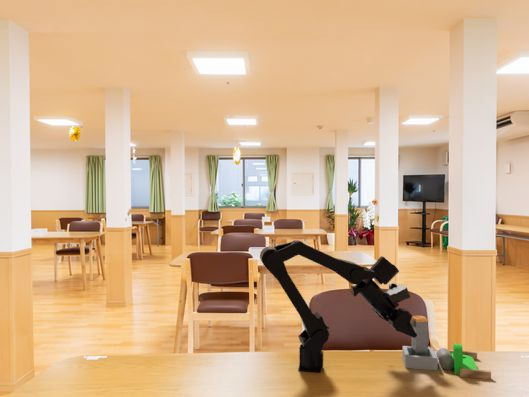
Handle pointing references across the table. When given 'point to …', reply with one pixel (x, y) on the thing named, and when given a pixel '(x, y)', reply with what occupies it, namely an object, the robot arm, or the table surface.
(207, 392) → the table surface
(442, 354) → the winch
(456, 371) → the mechanical part
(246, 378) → the table surface
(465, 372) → the bay rails
